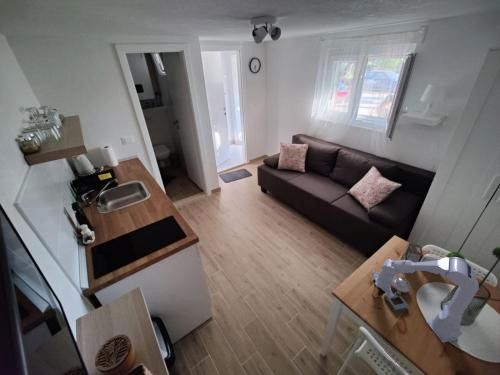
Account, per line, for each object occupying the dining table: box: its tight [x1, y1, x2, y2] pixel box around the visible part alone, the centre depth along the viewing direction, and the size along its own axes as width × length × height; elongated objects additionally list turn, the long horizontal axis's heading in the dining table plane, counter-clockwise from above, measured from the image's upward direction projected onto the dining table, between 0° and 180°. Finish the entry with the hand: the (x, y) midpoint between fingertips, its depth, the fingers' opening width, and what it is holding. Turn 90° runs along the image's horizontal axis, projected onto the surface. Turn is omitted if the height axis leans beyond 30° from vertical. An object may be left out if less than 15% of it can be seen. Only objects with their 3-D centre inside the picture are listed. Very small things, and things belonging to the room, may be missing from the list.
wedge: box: [371, 286, 382, 299], centre depth 118 cm, size 2×4×7 cm, turn 99°
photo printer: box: [420, 253, 444, 275], centre depth 129 cm, size 10×4×12 cm, turn 61°
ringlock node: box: [383, 275, 412, 313], centre depth 119 cm, size 17×17×7 cm
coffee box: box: [399, 242, 424, 263], centre depth 131 cm, size 9×6×16 cm
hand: (378, 292), depth 119 cm, fingers closed on wedge, 2 cm apart
